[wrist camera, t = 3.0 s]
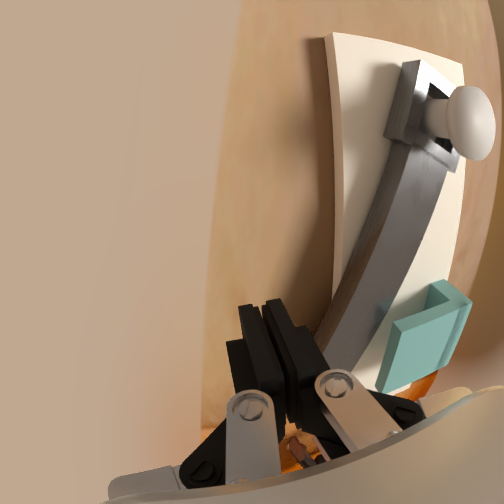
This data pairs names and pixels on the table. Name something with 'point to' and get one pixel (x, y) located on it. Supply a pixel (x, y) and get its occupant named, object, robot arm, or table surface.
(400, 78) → the swing link
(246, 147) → the table surface
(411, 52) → the base plank
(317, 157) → the table surface
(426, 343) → the keeper bracket
